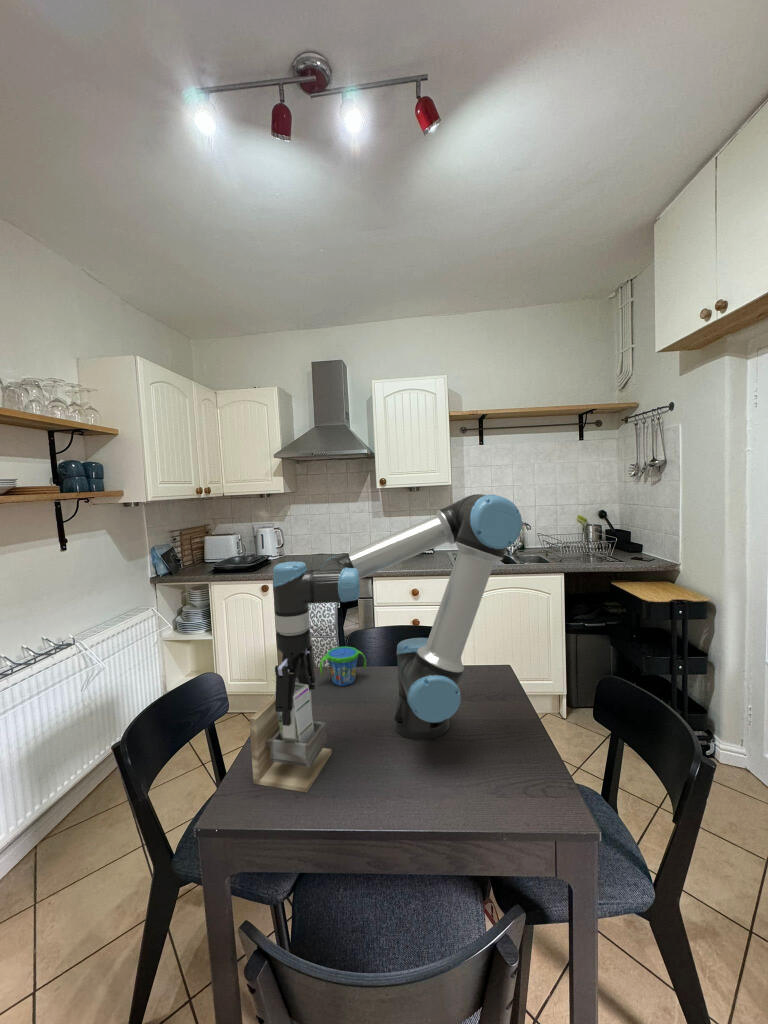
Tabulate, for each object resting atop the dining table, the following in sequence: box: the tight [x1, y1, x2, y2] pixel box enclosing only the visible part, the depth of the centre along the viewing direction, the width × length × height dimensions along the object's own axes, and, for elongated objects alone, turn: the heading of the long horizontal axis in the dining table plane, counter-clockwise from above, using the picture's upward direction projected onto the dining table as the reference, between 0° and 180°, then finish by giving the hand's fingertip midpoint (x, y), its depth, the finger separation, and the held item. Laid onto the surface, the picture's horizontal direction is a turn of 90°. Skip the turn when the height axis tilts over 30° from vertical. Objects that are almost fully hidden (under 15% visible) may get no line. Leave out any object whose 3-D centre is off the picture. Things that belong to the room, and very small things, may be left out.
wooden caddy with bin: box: [248, 694, 333, 793], centre depth 102 cm, size 13×14×15 cm
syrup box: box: [274, 681, 314, 744], centre depth 101 cm, size 6×6×14 cm
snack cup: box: [319, 646, 367, 687], centre depth 145 cm, size 16×10×10 cm
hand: (298, 726), depth 101 cm, fingers open, 8 cm apart
